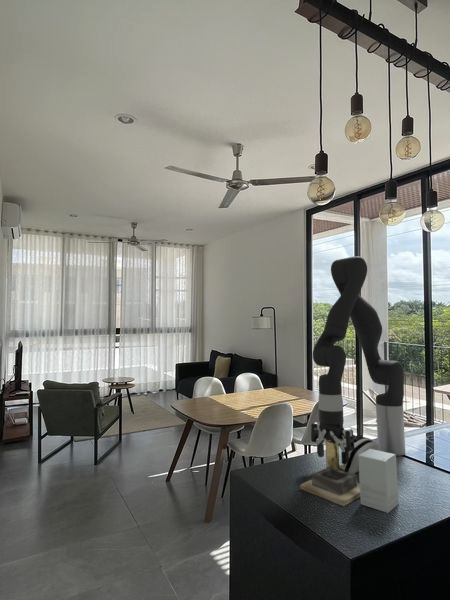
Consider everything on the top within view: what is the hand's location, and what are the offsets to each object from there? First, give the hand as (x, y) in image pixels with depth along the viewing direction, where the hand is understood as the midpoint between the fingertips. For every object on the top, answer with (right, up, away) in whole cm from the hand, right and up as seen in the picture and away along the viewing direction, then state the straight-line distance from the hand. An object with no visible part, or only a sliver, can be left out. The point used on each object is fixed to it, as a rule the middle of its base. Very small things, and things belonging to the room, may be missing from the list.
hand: (332, 460), depth 117 cm
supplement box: (+6, -3, -21) cm, 22 cm away
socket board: (-3, -3, -12) cm, 13 cm away
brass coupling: (0, -4, 0) cm, 4 cm away
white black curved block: (+11, -5, +5) cm, 13 cm away
